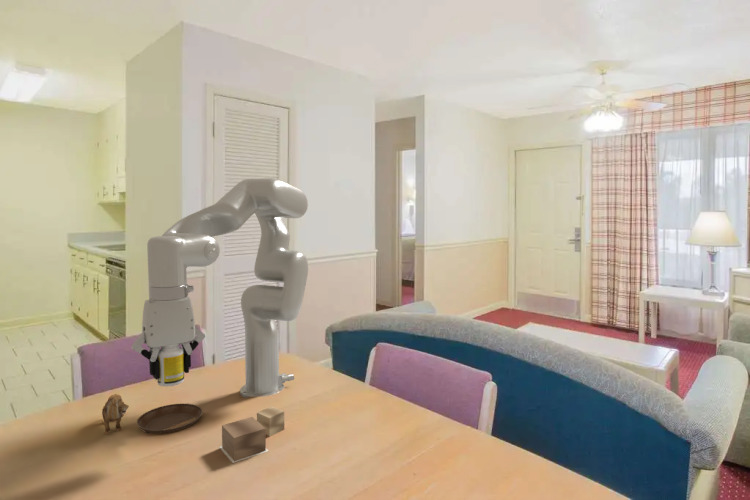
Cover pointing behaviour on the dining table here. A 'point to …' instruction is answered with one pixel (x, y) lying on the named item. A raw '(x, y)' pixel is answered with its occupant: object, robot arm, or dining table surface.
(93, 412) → the dining table surface
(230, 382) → the dining table surface
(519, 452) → the dining table surface
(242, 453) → the walnut block
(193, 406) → the saucer
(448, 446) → the dining table surface
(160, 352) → the supplement bottle
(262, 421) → the oak cube
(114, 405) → the lion figurine
